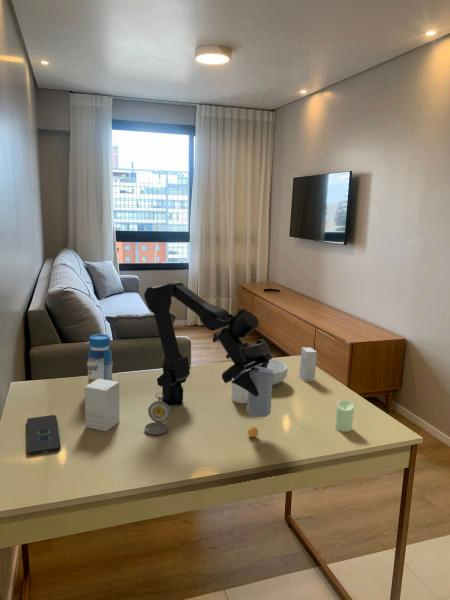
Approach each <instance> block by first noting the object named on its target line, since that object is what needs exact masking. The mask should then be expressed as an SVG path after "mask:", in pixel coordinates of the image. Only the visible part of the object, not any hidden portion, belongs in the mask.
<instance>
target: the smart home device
mask: <svg viewBox="0 0 450 600" xmlns="http://www.w3.org/2000/svg"><path fill="white" fill-rule="evenodd" d="M57 419H58V418H57V415H56V414H53V415H51V414H50V415H44V416H35V417H28V418H27V419H26V441H27V445H26V447H27V449H26V450H27V455H28V457H31V456H38V455H45V454H51V453H57V452H60V451H61V449H62V448H61V446H62V445H61V438H60V431H59V423H58V420H57Z"/></svg>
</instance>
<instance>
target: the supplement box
mask: <svg viewBox="0 0 450 600" xmlns="http://www.w3.org/2000/svg"><path fill="white" fill-rule="evenodd" d="M83 387H84V419H85V422H84V423H85V428H89V429H93V430H97V431H102V432H108V431H109V430H111V428H113V427H114V426H115V425H117V424H119V422H120V421H121V420H120V382H119V381H114V380H112V381H109V380H104V379H97V380H95V381H94V382H92V383H90V384H89V385H88V384H87V385H86V386H83Z"/></svg>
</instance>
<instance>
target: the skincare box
mask: <svg viewBox="0 0 450 600" xmlns="http://www.w3.org/2000/svg"><path fill="white" fill-rule="evenodd" d="M317 357H318V351H316V349H314V348H313V347H301V352H300V365H299V376H298V377H299V378H301V379H302V380H303V381H304V382H314V381H315V379H316V378H315V377H316V370H317V369H316V368H317V359H318V358H317ZM315 382H316V381H315Z"/></svg>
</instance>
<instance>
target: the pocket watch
mask: <svg viewBox="0 0 450 600" xmlns="http://www.w3.org/2000/svg"><path fill="white" fill-rule="evenodd" d="M157 395H161V396H158V397H157ZM162 395H163V394H162V392H161V393H160V392H158V393H156V394H155V398H156V399H157V400H156V401H153V402H152V403H151V404H150V405H149V406H148V410H147V411H148V416H149V418H150V419H151V420H152V421H153V422H149V423H148V424H146V425H145V427H144V432H146V433H147V434H149V435H153V436H158V435H162V434H163V435H164V434H165V433H166V432H167V431H168V429H169V427H168V425H167V424H166V423H165V422H167V421H168V420H169V419H170V417H171V408H170V405H167V404H166V403H165V402H162V398H161V397H162ZM163 398H164V395H163Z"/></svg>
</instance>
